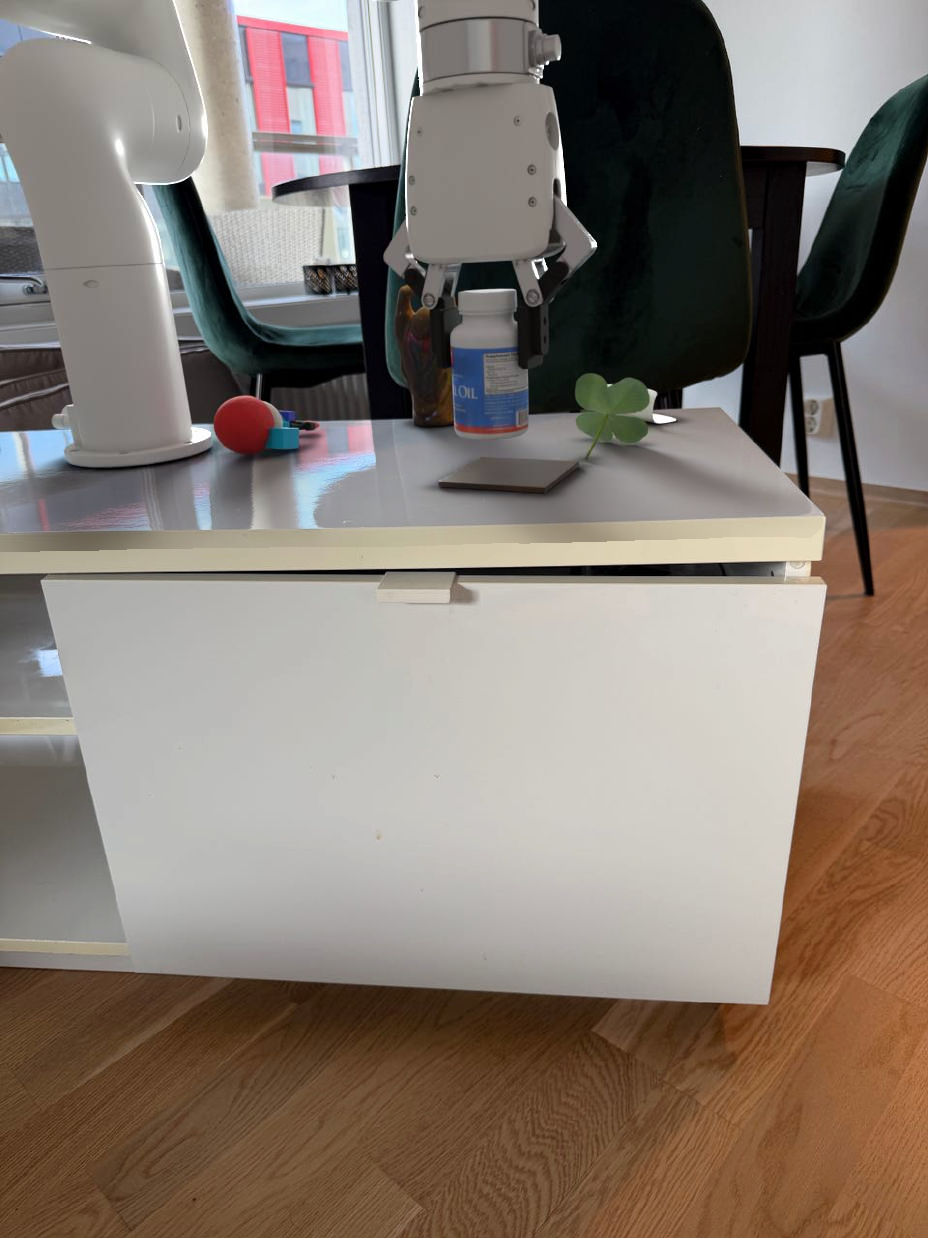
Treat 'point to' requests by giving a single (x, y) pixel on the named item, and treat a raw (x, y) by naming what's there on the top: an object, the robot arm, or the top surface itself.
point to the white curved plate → (649, 411)
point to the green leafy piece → (611, 409)
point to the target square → (510, 474)
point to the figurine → (422, 365)
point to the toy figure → (257, 426)
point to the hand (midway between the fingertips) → (489, 363)
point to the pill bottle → (488, 367)
